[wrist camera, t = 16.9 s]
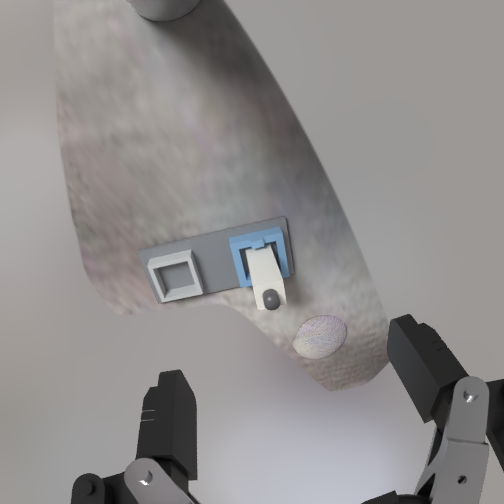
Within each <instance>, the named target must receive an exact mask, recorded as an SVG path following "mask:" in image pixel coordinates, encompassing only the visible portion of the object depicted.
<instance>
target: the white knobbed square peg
mask: <svg viewBox="0 0 504 504" xmlns="http://www.w3.org/2000/svg"><path fill="white" fill-rule="evenodd" d="M245 251H246V256H247V261H248V266H249V271H250V276H251V280H252V285H253V290H254V294H255V299H256V303H257V308H258V310H261V309H268V310H275V309H277V308H278V307H279V306H280V305H284V304H287V303H286V296H285V290H284V284H283V279H282V276H281V273H280V270H279V268H278V265H277V262H276V259H275V257H274V254H273V251H272V249H271V246H270V243H264V247H259V248H255V249H252V246H251V247H247V248H245Z"/></svg>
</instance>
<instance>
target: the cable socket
mask: <svg viewBox="0 0 504 504" xmlns="http://www.w3.org/2000/svg"><path fill="white" fill-rule="evenodd" d="M264 243H270V246H271V249H272V251H273V254H274V257H275V259H276V262H277V265H278V268H279V270H280V273H281V276H282V279H283V278H287V277H290V276H289V275H292V274H294V269H293V262H292V256H291V249H290V243H289V236H288V230H287V224H286V218H285V216H283V217H278V218H273V219H269V220H264V221H260V222H255V223H251V224H246V225H242V226H238V227H233V228H229V229H224V230H220V231H216V232H211V233H207V234H203V235H199V236H194V237H190V238H186V239H182V240H178V241H174V242H169V243H165V244H161V245H157V246H153V247H149V248H145V249H141V250H138V255H139V258H140V261H141V263H142V266H143V268H144V271H145V273H146V275H147V278H148V280H149V283H150V285H151V288H152V290H153V292H154V295H155V297H156V299H157V302H158V304H159V303H164V302H169V301H174V300H179V299H184V298H188V297H193V296H198V295H203V294H207V293H212V292H216V291H221V290H226V289H230V288H235V287H239V286H241V288H243V287H248V286H252V280H251V276H250V271H249V266H248V261H247V256H246V251H245V248H247V247H251V246H252V249H255V248H259V247H264Z"/></svg>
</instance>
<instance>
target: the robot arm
mask: <svg viewBox="0 0 504 504" xmlns="http://www.w3.org/2000/svg"><path fill="white" fill-rule="evenodd" d="M126 1H127V2H128V3H129V4H130V5H131V6H132V7H133V8H134V9H135V10H136V11H137V12H138V13H139V14H140V15H141V16H143V17H144V18H146V19H149V20H152V21H170V20H174V19H177V18H180V17H182V16H184V15H186V14H187V13H189V12H190V11H191V10H193V9H194V8H195V7H196V6H197V4H198V3H199V2H200V0H126ZM387 353H388V357H389V359H390V362H391V363H392V365H393V366H394V369H395V370H396V372H397V374H398V376H399V377H400V379H401V381H402V383H403V385H404V386H405V388H406V390H407V392H408V394H409V395H410V397H411V399H412V401H413V403H414V405H415V407H416V408H417V410H418V412H419V414H420V416H421V418H422V420H423V421H424V423H427V422H429V421H431V420H434V421H435V423H436V427H435V430H434V434H433V439H432V443H431V446H430V451H429V454H428V458H427V461H426V464H425V468H424V470H423V473H422V475H421V477H420V479H419V481H418V484H417V486H416V489H415V492H414V495H410V494H405V495H397V494H396V492H395V491H392V492H389V493H387V494H384V495H382V496H379V497H376V498H373V499H370V500H368V501H365V502H363V503H362V504H479V500H480V496H481V492H482V487H483V482H484V478H485V472H486V467H487V462H488V456H489V445H488V443H485V434H486V436H487V438H488V440H489V442H490V444H491V446H492V447H493V450H494V452H495V454H496V456H497V458H498V460H499V463H500V465H501V467H502V469H503V471H504V379H501V380H496V381H491V382H484V381H483V380H482V379H480V378H478V377H473V376H469V375H468V374H467V373H466V371H465V370H464V368H463V367H462V366H461V364H460V363H459V361H457V359H456V357H455V356H454V355H453V354H452V352H451V351H450V349H449V348H447V345H446V344H445V343H444V341H443V340H441V337H440V336H439V335H438V333H437V332H436V331H435V330H434V329H433V328H431V327H430V326H428V325H427V324H425V323H421V324H418V323H417V322H416V321H415V319H414V318H413V317H412V316H411V315H410V314H407V315H404V316H401V317H398V318H395V319H392V320H391V321H390V326H389V335H388V343H387ZM196 406H197V405H196V399H195V396H194V393H193V391H192V389H191V388H190V386H189V384H188V382H187V380H186V379H185V377H184V375H183V373H182V371H181V370H173V371H166V372H161V373H160V374H159V380H158V386H157V387H150V389H149V390H148V392H147V394H146V395H145V397H144V400H143V407H142V411H143V412H142V415H141V422H140V430H139V437H138V445H137V454H136V458H135V461H133V462H132V463H131V464H129V465H128V467H127V468H126V470H125V472H122V473H120V474H116V475H113V476H109V477H106V478H102V479H101V478H100V477H99V476H97V475H95V474H91V473H88V474H83V475H81V476H80V477H78V478H77V479H76V481H75V483H74V485H73V489H72V498H71V504H201V503H200V502H199V501H198V500H197V499H196V498H195V497H194V496H193V495H192V494H191V493H190V491H189V490H188V481H189V480H197V407H196Z"/></svg>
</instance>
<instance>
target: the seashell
mask: <svg viewBox="0 0 504 504" xmlns="http://www.w3.org/2000/svg"><path fill="white" fill-rule="evenodd" d="M346 334H347V331H346V326H345V324H344V323H343V322H342V321H340V319H338V318H336V317H333V316H330V315H328V316H324V315H323V316H321V317H320V316H318V317H315V318H312V319H309V320H308V321H306V322H305V324H303V325H302V326H301V327H300V328H299V330H298V333H297V335H296V337H295V340H293V342H292V344H293V347H294V349H295V350H296V351H297V352H298V353H299V354H301V356H304V357H307V358H309V359H310V358H311V359H321V358H324V357H327V356H329V355H331V354H332V353H334V352H335V351H336V350H337V349H338V348H339V347H340V346H341V345H342V343H343V342H344V340H345V338H346Z"/></svg>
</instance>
